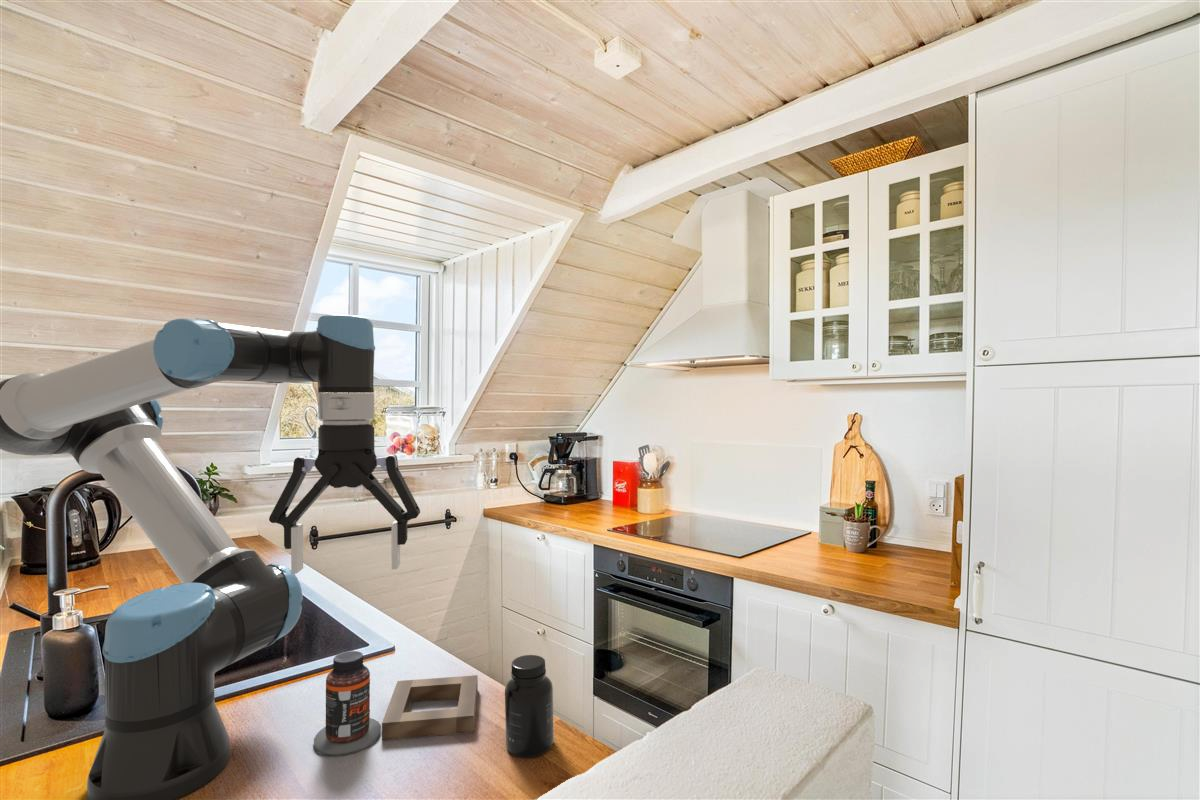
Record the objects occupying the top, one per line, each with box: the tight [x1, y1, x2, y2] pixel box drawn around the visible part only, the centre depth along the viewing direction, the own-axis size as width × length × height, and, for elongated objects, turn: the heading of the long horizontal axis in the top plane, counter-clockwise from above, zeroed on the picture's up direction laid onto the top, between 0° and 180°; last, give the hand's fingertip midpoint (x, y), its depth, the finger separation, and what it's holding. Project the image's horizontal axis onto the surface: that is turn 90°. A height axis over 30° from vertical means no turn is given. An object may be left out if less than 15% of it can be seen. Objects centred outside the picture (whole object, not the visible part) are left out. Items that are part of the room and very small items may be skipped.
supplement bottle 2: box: [504, 654, 555, 759], centre depth 86 cm, size 7×7×12 cm
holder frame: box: [381, 674, 479, 741], centre depth 94 cm, size 13×13×2 cm
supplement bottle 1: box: [325, 650, 371, 743], centre depth 88 cm, size 6×6×11 cm
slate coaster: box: [313, 717, 382, 757], centre depth 88 cm, size 9×9×1 cm
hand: (347, 569), depth 87 cm, fingers open, 13 cm apart
